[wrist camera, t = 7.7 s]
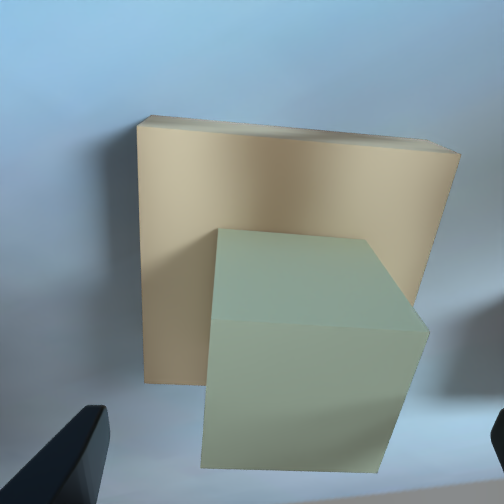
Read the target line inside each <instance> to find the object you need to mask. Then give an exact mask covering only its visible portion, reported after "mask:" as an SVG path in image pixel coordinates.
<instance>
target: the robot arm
mask: <svg viewBox="0 0 504 504" xmlns="http://www.w3.org/2000/svg"><path fill="white" fill-rule="evenodd" d="M109 441H110V427H109V419H108V412H107V408H106V406H105V405H87V406H85V407H84V408H83V409H82V410H81V411H80V412H79V413H78V414H77V415H76V416H75V417H74V418H73V419H72V420H71V421H70V422H69V423H68V424H67V425H66V426H65V427H64V428H62V429H61V430H60V431H59V432H58V433H57V434H56V435H55V436H54V437H53V438H52V439H51V440H50V441H49V442H48V443H47V444H46V445H45V446H44V447H43V448H42V449H41V450H40V451H39V452H38V453H37V454H36V455H35V456H34V457H33V458H32V459H31V460H30V461H29V462H28V463H27V464H26V465H25V466H24V467H23V468H22V469H21V470H20V471H19V472H18V473H17V474H16V475H15V476H14V477H13V478H12V479H11V480H10V481H9V482H8V483H7V484H6V485H5V486H4V487H3V488H2V489H1V490H0V504H96V502H97V497H98V493H99V488H100V483H101V479H102V474H103V469H104V465H105V460H106V455H107V451H108V446H109ZM491 442H492V445H493V447H494V450H495V452H496V454H497V457H498V459H499V462H500V464H501V466H502V469H503V471H504V408H503V409H502V410H501V411H500V412H499V415H498V417H497V419H496V421H495V423H494V426H493V428H492V430H491Z"/></svg>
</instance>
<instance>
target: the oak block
mask: <svg viewBox="0 0 504 504" xmlns="http://www.w3.org/2000/svg"><path fill="white" fill-rule="evenodd" d="M137 155H138V188H139V221H140V254H141V287H142V320H143V354H144V383H149V384H175V385H201V386H206V383H207V369H208V355H209V341H210V327H211V314H212V302H213V289H214V276H215V264H216V251H217V239H218V228H222V229H235V230H248V231H260V232H273V233H286V234H298V235H311V236H324V237H337V238H349V239H362V240H366V241H367V243H368V244H369V245H370V247H371V248H372V250H373V251H374V253H375V254H376V255H377V257H378V258H379V260H380V261H381V263H382V264H383V265H384V267H385V268H386V270H387V271H388V273H389V274H390V275H391V277H392V278H393V280H394V281H395V283H396V284H397V286H398V287H399V288H400V290H401V291H402V293H403V294H404V296H405V297H406V298H407V300H408V301H409V303H410V304H411V306H412V307H413V305H414V302H415V299H416V296H417V293H418V289H419V286H420V283H421V280H422V277H423V274H424V271H425V267H426V264H427V261H428V258H429V255H430V252H431V249H432V245H433V242H434V239H435V236H436V233H437V230H438V227H439V223H440V220H441V217H442V214H443V211H444V208H445V204H446V201H447V198H448V195H449V192H450V189H451V186H452V182H453V179H454V176H455V173H456V170H457V167H458V164H459V160H460V157H461V154H459V153H457V152H454V151H452V150H450V149H447V148H445V147H443V146H440V145H438V144H436V143H433V142H431V141H429V140H423V139H412V138H401V137H390V136H379V135H368V134H357V133H346V132H334V131H323V130H312V129H301V128H290V127H279V126H268V125H257V124H246V123H235V122H224V121H213V120H202V119H191V118H180V117H169V116H158V115H151V116H150V117H148V118H147V119H146V120H144V121H143V122H141V123H140V124H139V125H137Z"/></svg>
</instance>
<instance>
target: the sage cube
mask: <svg viewBox="0 0 504 504" xmlns="http://www.w3.org/2000/svg"><path fill="white" fill-rule="evenodd" d="M429 334H430V331H429V330H428V328H427V327H426V326H425V324H424V323H423V321H422V320H421V318H420V317H419V316H418V314H417V313H416V311H415V310H414V308H413V307H412V306H411V304H410V303H409V301H408V300H407V298H406V297H405V296H404V294H403V293H402V291H401V290H400V288H399V287H398V286H397V284H396V283H395V281H394V280H393V278H392V277H391V275H390V274H389V273H388V271H387V270H386V268H385V267H384V265H383V264H382V263H381V261H380V260H379V258H378V257H377V255H376V254H375V253H374V251H373V250H372V248H371V247H370V245H369V244H368V243H367V241H366V240H362V239H349V238H337V237H324V236H311V235H298V234H286V233H273V232H260V231H248V230H235V229H222V228H218V239H217V251H216V264H215V276H214V289H213V302H212V314H211V327H210V341H209V355H208V369H207V383H206V397H205V411H204V424H203V438H202V452H201V466H200V468H208V469H244V470H280V471H317V472H353V473H377V472H378V470H379V467H380V464H381V462H382V459H383V456H384V454H385V451H386V448H387V446H388V443H389V440H390V438H391V435H392V432H393V430H394V427H395V424H396V422H397V419H398V416H399V414H400V411H401V408H402V406H403V403H404V400H405V398H406V395H407V392H408V390H409V387H410V384H411V382H412V379H413V376H414V374H415V371H416V368H417V366H418V363H419V360H420V358H421V355H422V352H423V350H424V347H425V344H426V342H427V339H428V336H429Z"/></svg>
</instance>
